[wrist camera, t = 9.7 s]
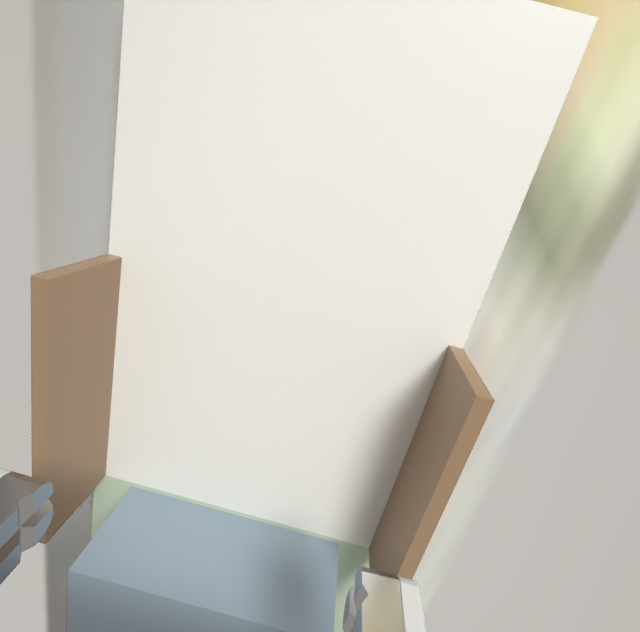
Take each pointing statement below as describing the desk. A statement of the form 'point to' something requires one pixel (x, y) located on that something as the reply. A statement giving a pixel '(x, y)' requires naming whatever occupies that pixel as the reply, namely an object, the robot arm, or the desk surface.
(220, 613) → the slate bar
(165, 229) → the tunnel deck
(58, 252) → the desk surface
